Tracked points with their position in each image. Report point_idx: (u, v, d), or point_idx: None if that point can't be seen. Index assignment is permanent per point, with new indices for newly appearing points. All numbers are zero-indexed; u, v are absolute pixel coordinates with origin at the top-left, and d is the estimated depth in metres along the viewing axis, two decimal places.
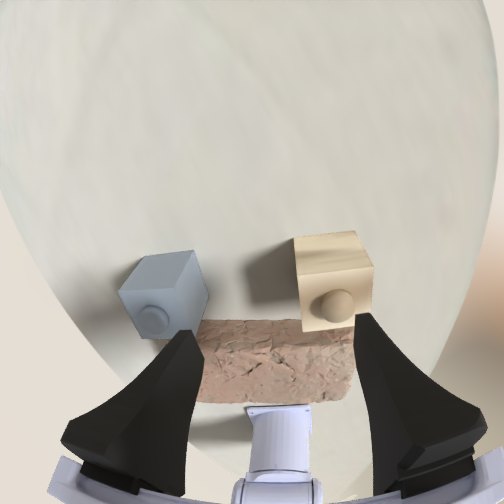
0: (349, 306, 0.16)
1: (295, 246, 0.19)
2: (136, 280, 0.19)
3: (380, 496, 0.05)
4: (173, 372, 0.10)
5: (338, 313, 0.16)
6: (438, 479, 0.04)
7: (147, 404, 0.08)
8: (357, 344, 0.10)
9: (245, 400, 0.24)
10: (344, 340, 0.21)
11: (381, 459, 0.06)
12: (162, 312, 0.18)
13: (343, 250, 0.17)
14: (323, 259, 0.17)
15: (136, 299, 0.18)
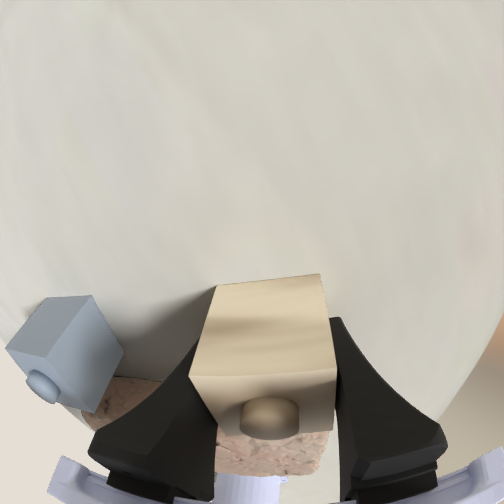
0: (288, 426, 0.08)
1: (212, 305, 0.11)
2: (23, 335, 0.11)
3: None
4: None
5: (269, 432, 0.08)
6: (395, 492, 0.04)
7: (182, 408, 0.07)
8: None
9: None
10: None
11: (343, 466, 0.07)
12: (47, 381, 0.10)
13: (288, 322, 0.10)
14: (245, 342, 0.09)
15: (22, 360, 0.10)
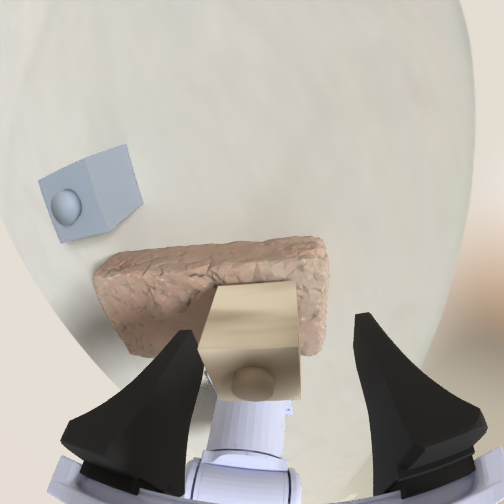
0: (265, 388, 0.12)
1: (214, 301, 0.15)
2: None
3: (380, 496, 0.05)
4: (173, 372, 0.10)
5: (252, 393, 0.12)
6: (438, 479, 0.04)
7: (147, 404, 0.08)
8: (357, 344, 0.10)
9: None
10: (304, 255, 0.17)
11: (381, 459, 0.06)
12: (73, 194, 0.13)
13: (268, 314, 0.14)
14: (237, 327, 0.13)
15: (52, 185, 0.13)
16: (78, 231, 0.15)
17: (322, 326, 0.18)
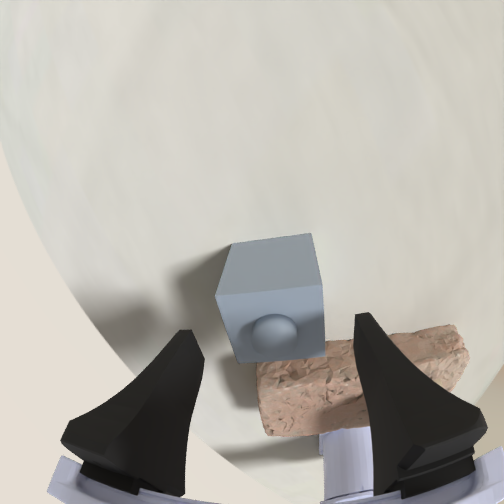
0: None
1: None
2: (242, 277, 0.13)
3: (380, 496, 0.05)
4: (173, 372, 0.10)
5: None
6: (438, 479, 0.04)
7: (147, 404, 0.08)
8: (357, 344, 0.10)
9: (339, 428, 0.19)
10: (457, 349, 0.15)
11: (381, 459, 0.06)
12: (292, 323, 0.12)
13: None
14: None
15: (248, 306, 0.12)
16: None
17: None
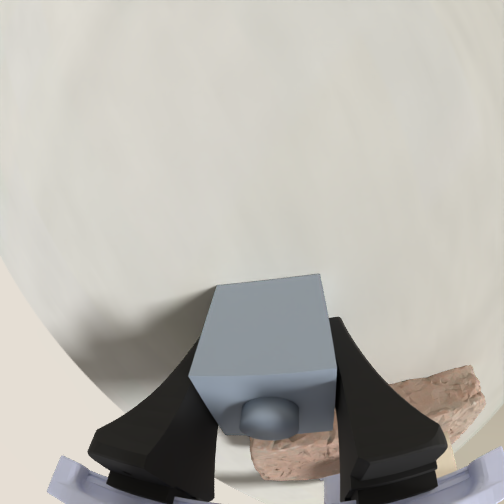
0: None
1: None
2: (225, 346, 0.09)
3: None
4: None
5: None
6: (395, 492, 0.04)
7: (182, 408, 0.07)
8: None
9: None
10: (473, 397, 0.12)
11: (343, 466, 0.07)
12: (293, 408, 0.08)
13: (437, 472, 0.09)
14: None
15: (234, 389, 0.08)
16: None
17: (459, 436, 0.13)
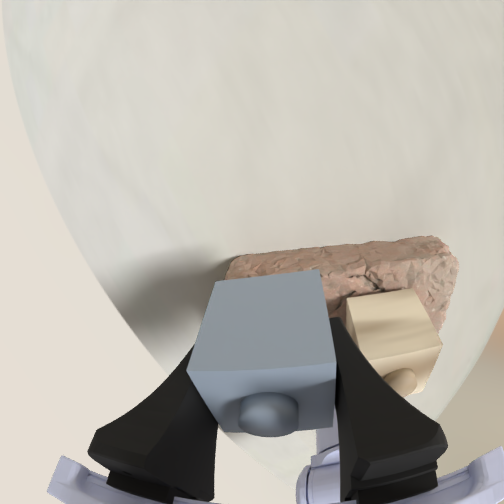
0: (412, 385, 0.12)
1: (352, 313, 0.15)
2: (224, 341, 0.09)
3: None
4: None
5: (399, 392, 0.12)
6: (395, 492, 0.04)
7: (182, 408, 0.07)
8: None
9: None
10: (442, 253, 0.16)
11: (343, 466, 0.07)
12: (292, 404, 0.08)
13: (407, 320, 0.13)
14: (388, 335, 0.13)
15: (232, 384, 0.08)
16: None
17: (445, 315, 0.17)
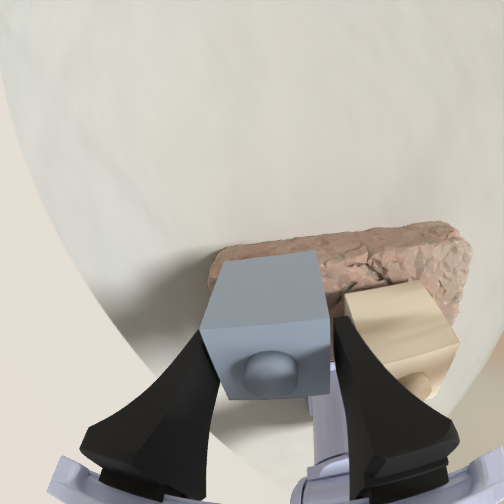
0: (426, 392, 0.10)
1: (352, 311, 0.13)
2: (232, 305, 0.11)
3: (347, 502, 0.05)
4: (195, 373, 0.10)
5: None
6: (407, 489, 0.04)
7: (172, 407, 0.08)
8: (335, 347, 0.11)
9: None
10: (453, 237, 0.14)
11: (354, 464, 0.07)
12: (292, 362, 0.10)
13: (417, 317, 0.11)
14: (396, 335, 0.11)
15: (239, 342, 0.10)
16: None
17: (458, 308, 0.15)
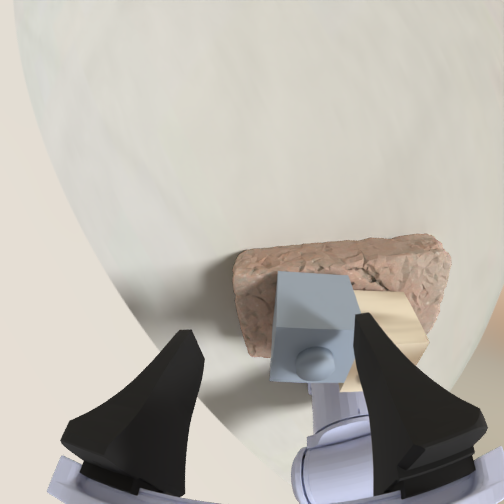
0: None
1: None
2: (297, 311, 0.14)
3: (380, 496, 0.05)
4: (173, 372, 0.10)
5: None
6: (438, 479, 0.04)
7: (147, 404, 0.08)
8: (357, 344, 0.10)
9: None
10: (435, 249, 0.17)
11: (381, 459, 0.06)
12: (332, 356, 0.13)
13: (399, 317, 0.15)
14: (382, 326, 0.14)
15: (301, 338, 0.13)
16: None
17: (439, 308, 0.18)
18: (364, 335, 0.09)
